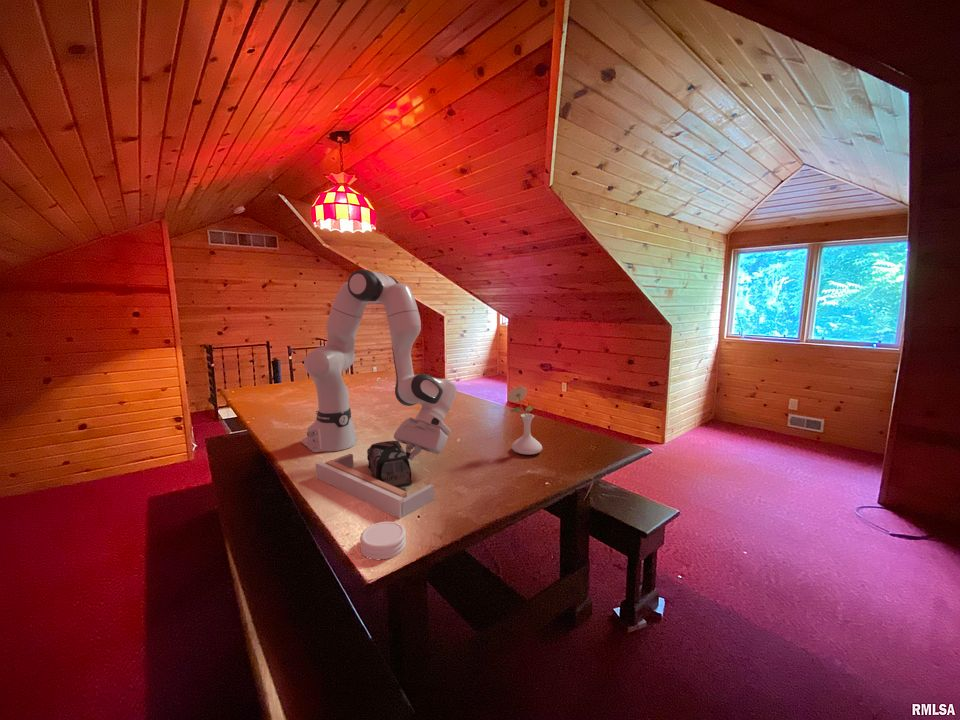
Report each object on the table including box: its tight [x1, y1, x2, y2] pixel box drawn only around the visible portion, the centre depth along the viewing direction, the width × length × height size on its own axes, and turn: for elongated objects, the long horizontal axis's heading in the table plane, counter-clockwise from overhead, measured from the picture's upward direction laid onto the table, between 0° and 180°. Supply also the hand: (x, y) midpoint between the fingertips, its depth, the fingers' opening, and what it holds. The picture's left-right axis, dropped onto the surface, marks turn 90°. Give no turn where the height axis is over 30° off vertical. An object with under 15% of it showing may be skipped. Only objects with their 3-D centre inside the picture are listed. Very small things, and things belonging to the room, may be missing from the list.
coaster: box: [359, 521, 407, 560], centre depth 87 cm, size 10×10×4 cm
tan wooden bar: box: [325, 459, 408, 498], centre depth 112 cm, size 35×2×5 cm, turn 53°
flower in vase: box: [507, 385, 543, 456], centre depth 141 cm, size 13×11×25 cm
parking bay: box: [314, 453, 435, 520], centre depth 114 cm, size 39×12×5 cm, turn 53°
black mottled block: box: [366, 440, 413, 489], centre depth 122 cm, size 11×25×10 cm, turn 23°
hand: (407, 458), depth 126 cm, fingers closed
